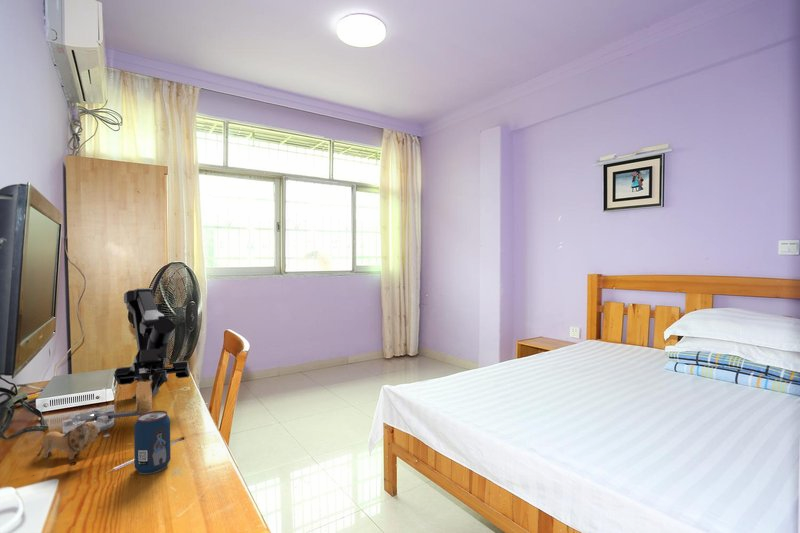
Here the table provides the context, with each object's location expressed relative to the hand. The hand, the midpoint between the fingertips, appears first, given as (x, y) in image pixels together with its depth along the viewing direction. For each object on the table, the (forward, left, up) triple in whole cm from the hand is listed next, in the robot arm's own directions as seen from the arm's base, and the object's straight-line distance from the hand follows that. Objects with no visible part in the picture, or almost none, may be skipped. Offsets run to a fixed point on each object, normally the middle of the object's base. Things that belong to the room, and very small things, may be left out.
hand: (149, 399), depth 112 cm
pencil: (+20, +5, -8) cm, 22 cm away
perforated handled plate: (+2, -9, -6) cm, 11 cm away
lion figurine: (+18, -12, -7) cm, 23 cm away
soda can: (+27, +8, -7) cm, 29 cm away
